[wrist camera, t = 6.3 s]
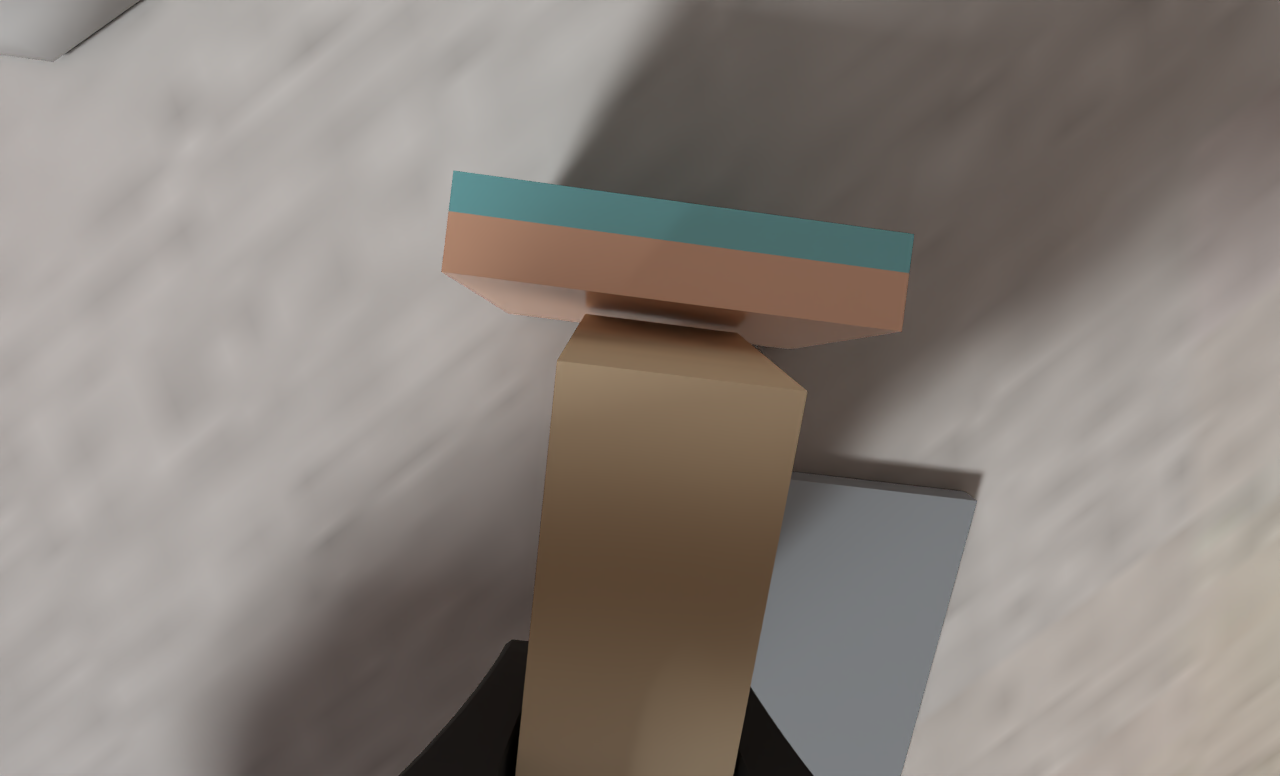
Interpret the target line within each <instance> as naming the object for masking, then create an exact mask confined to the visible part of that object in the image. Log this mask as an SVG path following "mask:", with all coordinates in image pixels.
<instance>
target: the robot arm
mask: <svg viewBox="0 0 1280 776" xmlns="http://www.w3.org/2000/svg"><path fill="white" fill-rule="evenodd" d="M528 644H529V641H519V640H511V641H510V642H509V643H507V644H506V645H505V647H504V649H503V650H502V652H501V654H500V655H499V657H498V659H497V660H496V662H495V663H494V665H493V666H492V668H491V669H490V670H489V672H488V673H487V675H486V676H485V677H484V679H483V680H482V682H481V683H480V684H479V686H478V687H477V688H476V690H475V691H474V692H473V693H472V695H471V696H470V697H469V698H468V700H467V701H466V702H465V703H464V705H463V706H462V707H461V708H460V710H459V711H458V712H457V713H456V715H455V716H454V717H453V718H452V719H451V721H450V722H449V723H448V724H447V725H446V726H445V727H444V728H443V729H442V731H441V732H440V733H439V734H438V735H437V736H436V737H435V738H434V739H433V741H432V742H431V743H430V744H429V745H428V746H427V747H426V748H425V749H424V751H423V752H422V753H421V754H420V755H419V756H418V757H417V758H416V759H415V760H414V761H413V762H412V763H411V764H410V765H409V766H408V767H407V768H406V769H405V770H404V771H403V772H402V773H401V774H400V775H399V776H515V774H516V764H517V754H518V744H519V734H520V724H521V714H522V704H523V694H524V684H525V674H526V664H527V654H528ZM733 776H814V775H813V774H812V773H811V771H810V770H809V769H808V768H807V766H806V765H805V764H804V762H803V761H802V760H801V758H800V757H799V756H798V754H797V753H796V752H795V750H794V749H793V748H792V746H791V745H790V743H789V742H788V741H787V739H786V738H785V736H784V735H783V734H782V732H781V731H780V730H779V728H778V727H777V725H776V724H775V722H774V721H773V719H772V718H771V717H770V715H769V714H768V712H767V711H766V709H765V708H764V706H763V705H762V703H761V702H760V700H759V699H758V697H757V696H756V694H755V692H754V691H753V689H752V688H751V686H750V691H749V697H748V702H747V707H746V712H745V717H744V722H743V728H742V733H741V738H740V743H739V748H738V753H737V759H736V764H735V769H734V774H733Z"/></svg>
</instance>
